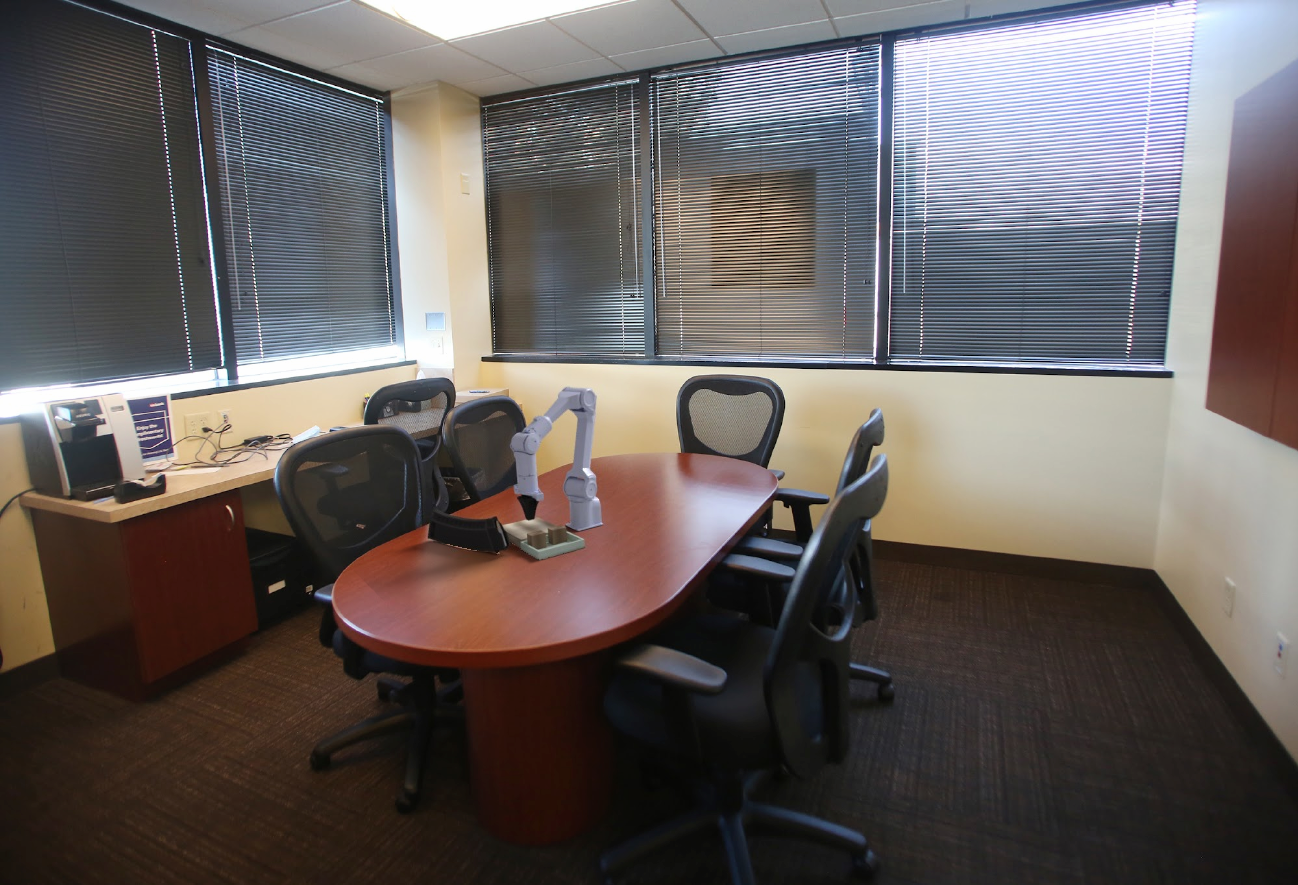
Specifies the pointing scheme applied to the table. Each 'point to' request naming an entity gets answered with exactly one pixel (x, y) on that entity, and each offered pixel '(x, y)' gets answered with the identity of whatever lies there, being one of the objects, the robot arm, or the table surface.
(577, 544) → the box
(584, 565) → the table surface
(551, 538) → the walnut block
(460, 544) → the magazine
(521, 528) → the maple board
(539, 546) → the walnut block
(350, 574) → the table surface
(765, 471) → the table surface
